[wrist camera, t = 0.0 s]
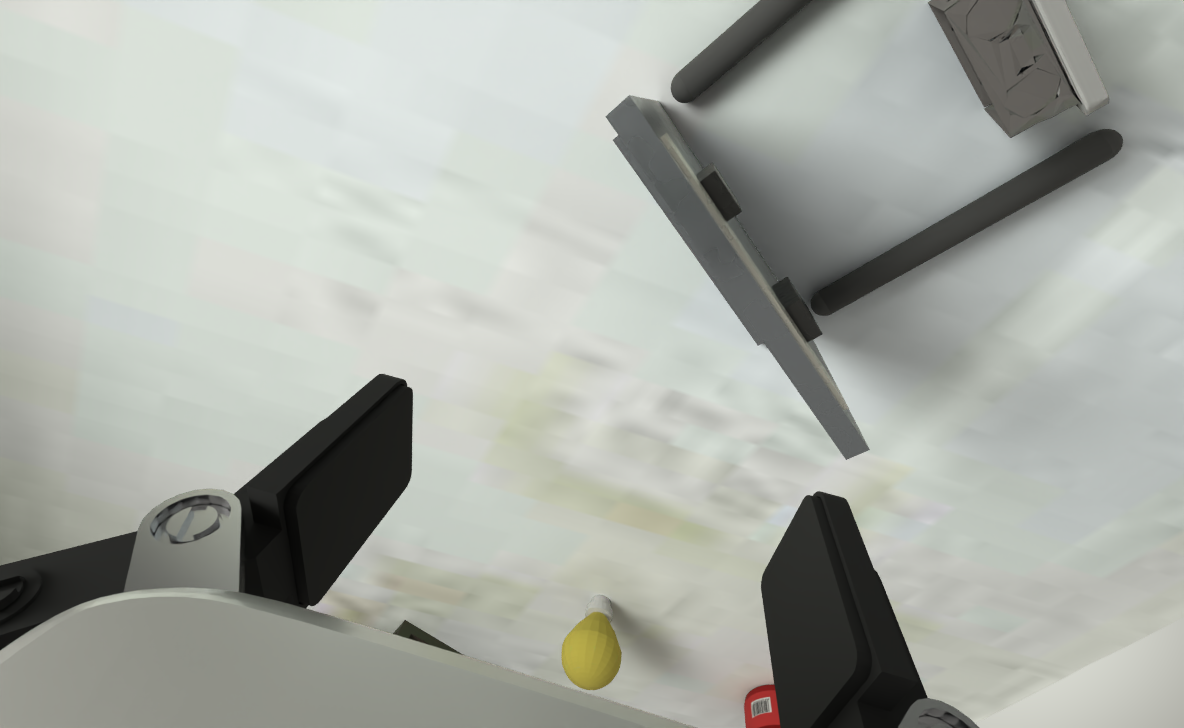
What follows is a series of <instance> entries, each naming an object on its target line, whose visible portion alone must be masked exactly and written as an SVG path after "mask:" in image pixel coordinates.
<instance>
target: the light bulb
mask: <svg viewBox="0 0 1184 728" xmlns="http://www.w3.org/2000/svg"><path fill="white" fill-rule="evenodd" d="M610 605H611V602H610V600H609V599H608V598H607V597H605V596H601V595H597V596H594V597H593V598H592V602H590V603H589V604H588V605H587V608H586V613H585V616H586V618H585V619H583V620H582V621H581V622H579V623H578V624H577V625H576V626H575V627H574V628H573V630H572V631H571V632H570V633H569V634H568V635H567V637H566V638H565V640H564V642H563V645H562V665H563V668H564V670H565V672H566V674H567V676H568V678H569V679H570V680H571V681H572V682H573V683H574V684H575V685H577V686H578V687H580V688H583V689H586V690H596V689H600V688H603V687H604V686H606V685H608V684H609V683H610V682H611V681H612V680H613V679H614V677H615V676H616V674H617V673H618V670H619V668H620V664H621V650H620V647H619V644H618V641H617V638H616V635H615V632H614V630H613V628H612V626H611V624H610V622H611V621H612V615H613V610H612V608H611V607H610Z"/></svg>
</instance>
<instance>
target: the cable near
mask: <svg viewBox="0 0 1184 728" xmlns="http://www.w3.org/2000/svg"><path fill="white" fill-rule="evenodd" d="M811 1H812V0H760V1H759V2H758V3H757V4H756V5H754V6H753V7H752V8H751V9H750V10H749V11H748V12H746V13H745V14H744V15H743V16H742V17H741V18H740V19H739V20H737V21H736V22H735V23H734V24H733V25H732V26H731V27H729V28H728V29H727V30H726V31H725V32H724V33H723V34H721V35H720V36H719V37H718V38H717V39H716V40H715V41H714V42H712V43H711V44H710V45H709V46H708V47H707V48H706V49H704V50H703V51H702V52H701V53H700V54H699V55H698V56H697V57H695V58H694V59H693V60H692V61H691V62H690V63H689V64H687V65H686V66H685V67H684V68H683V69H682V70H681V71H679V72H678V73H677V74H676V75H675V77H674V78H673V80H672V84H671V92H672V95H673V97H674V98H675V99H676V100H677V101H678V102H681V103H688V102H691V101H693V100H694V99H695V98H696V97H698V96H699V95H700V94H701V93H702V92H704V91H705V90H706V89H707V88H708V87H709V86H711V85H712V84H713V83H714V82H715V81H717V80H718V79H719V78H720V77H721V76H723V75H724V74H725V73H726V72H727V71H729V70H730V69H731V68H732V67H733V66H734V65H736V64H737V63H738V62H739V61H740V60H742V59H743V58H744V57H745V56H746V55H748V54H749V53H750V52H751V51H752V50H754V49H755V48H756V47H757V46H758V45H759V44H761V43H762V42H763V41H764V40H765V39H767V38H768V37H769V36H770V35H771V34H773V33H774V32H775V31H776V30H777V29H778V28H780V27H781V26H782V25H783V24H784V23H786V22H787V21H788V20H789V19H790V18H792V17H793V16H794V15H795V14H796V13H798V12H799V11H800V10H801V9H802V8H803V7H805V6H806V5H807V4H808V3H809V2H811Z"/></svg>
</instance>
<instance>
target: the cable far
mask: <svg viewBox="0 0 1184 728" xmlns="http://www.w3.org/2000/svg"><path fill="white" fill-rule="evenodd" d="M1122 144H1123V139H1122V136H1121V135H1120V134H1119V133H1118V132H1117V131H1114V130H1110V129H1103V130H1098V131H1095V132H1093V133H1091V134H1089V135H1087V136H1085V137H1084V138H1082V139H1080V140H1079V141H1077V142H1075V143H1073V144H1072V145H1070V146H1068V147H1067V148H1065V149H1063V150H1061V151H1060V152H1058V153H1056V154H1054V155H1053V156H1051V157H1049V158H1048V159H1046V160H1044V161H1042V162H1041V163H1039V164H1037V165H1036V166H1034V167H1032V168H1030V169H1029V170H1027V171H1025V172H1023V173H1022V174H1020V175H1018V176H1017V177H1015V178H1013V179H1011V180H1010V181H1008V182H1006V183H1004V184H1003V185H1001V186H999V187H998V188H996V189H994V190H992V191H991V192H989V193H987V194H986V195H984V196H982V197H980V198H979V199H977V200H975V201H973V202H972V203H970V204H968V205H967V206H965V207H963V208H961V209H960V210H958V211H956V212H955V213H953V214H951V215H949V216H948V217H946V218H944V219H942V220H941V221H939V222H937V223H936V224H934V225H932V226H930V227H929V228H927V229H925V230H924V231H922V232H920V233H918V234H917V235H915V236H913V237H911V238H910V239H908V240H906V241H905V242H903V243H901V244H899V245H898V246H896V247H894V248H893V249H891V250H889V251H887V252H886V253H884V254H882V255H880V256H879V257H877V258H875V259H874V260H872V261H870V262H868V263H867V264H865V265H863V266H862V267H860V268H858V269H856V270H855V271H853V272H851V273H849V274H848V275H846V276H844V277H843V278H841V279H839V280H837V281H836V282H834V283H832V284H831V285H829V286H827V287H825V288H824V289H822V290H820V291H818V292H817V293H815V294H814V296H813V297H812V299H811V308H812V310H813V311H814V312H815V313H816V314H818V315H822V316H826V315H830V314H832V313H834V312H836V311H838V310H839V309H841V308H843V307H845V306H847V305H848V304H850V303H852V302H854V301H856V300H857V299H859V298H861V297H863V296H865V295H866V294H868V293H870V292H872V291H874V290H875V289H877V288H879V287H881V286H883V285H884V284H886V283H888V282H890V281H892V280H893V279H895V278H897V277H899V276H901V275H902V274H904V273H906V272H908V271H910V270H911V269H913V268H915V267H917V266H919V265H920V264H922V263H924V262H926V261H928V260H929V259H931V258H933V257H935V256H937V255H938V254H940V253H942V252H944V251H946V250H948V249H949V248H951V247H953V246H955V245H957V244H958V243H960V242H962V241H964V240H966V239H967V238H969V237H971V236H973V235H975V234H976V233H978V232H980V231H982V230H984V229H985V228H987V227H989V226H991V225H993V224H994V223H996V222H998V221H1000V220H1002V219H1003V218H1005V217H1007V216H1009V215H1011V214H1012V213H1014V212H1016V211H1018V210H1020V209H1021V208H1023V207H1025V206H1027V205H1029V204H1030V203H1032V202H1034V201H1036V200H1038V199H1039V198H1041V197H1043V196H1045V195H1047V194H1048V193H1050V192H1052V191H1054V190H1056V189H1057V188H1059V187H1061V186H1063V185H1065V184H1067V183H1068V182H1070V181H1072V180H1074V179H1076V178H1077V177H1079V176H1081V175H1083V174H1085V173H1086V172H1088V171H1090V170H1092V169H1094V168H1095V167H1097V166H1099V165H1101V164H1103V163H1104V162H1106V161H1108V160H1110V159H1111V158H1113V157H1114V156H1115V155H1116V154H1117V153H1118V152H1119V151H1120V150H1121V147H1122Z"/></svg>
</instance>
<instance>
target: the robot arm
mask: <svg viewBox="0 0 1184 728" xmlns="http://www.w3.org/2000/svg"><path fill="white" fill-rule="evenodd" d="M412 414H413V391H412V389H411V388H410V387H407V383H406V381H405V380H404V379H400V378H396V377H392V376H389V375H385V374H379V375H377V376H376V377H375V378H374V379H373V380H371V381H370V382H369V383H368V384H367V385H365V386H364V387H363V388H362V389H361V390H359V391H358V392H357V393H356V394H355V395H354V396H352V397H351V398H350V399H349V400H348V401H346V402H345V403H344V404H343V405H342V406H340V407H339V408H338V409H337V410H336V411H335V412H333V413H332V414H331V415H330V416H329V417H327V418H326V419H324V420H322V421H321V422H319V423H318V424H317V425H316V426H315V427H313V428H312V429H311V430H310V431H309V432H307V433H306V434H305V435H304V436H303V437H301V438H300V439H299V440H298V441H297V442H296V443H294V444H293V445H292V446H291V447H290V448H288V449H287V450H286V451H285V452H284V453H282V454H281V455H280V456H279V457H278V458H276V459H275V460H274V461H273V462H272V463H270V464H269V465H268V466H267V467H266V468H264V469H263V470H262V471H261V472H260V473H259V474H257V475H256V476H255V477H254V478H253V479H251V480H250V481H249V482H248V483H247V484H245V485H244V486H243V487H242V488H241V489H239V490H238V491H237V492H236V493H235V494H232V493H230V492H227V491H224V490H218V489H202V490H194V491H190V492H186V493H183V494H179V495H177V496H175V497H173V498H170V499H168V500H166V501H164V502H163V503H161V504H159V505H158V506H156V507H155V508H153V509H152V510H151V511H150V512H149V513H148V514H147V515H146V516H145V517H144V518H143V520H142V522H141V524H140V526H139V528H138V531H136V532H132V533H128V534H124V535H120V536H116V537H113V538H109V539H105V540H101V541H97V542H93V543H89V544H85V545H81V546H77V547H73V548H69V549H65V550H61V551H57V552H53V553H49V554H45V555H41V556H37V557H33V558H29V559H25V560H21V561H17V562H13V563H9V564H5V565H1V566H0V728H696V727H693V726H690V725H686V724H683V723H680V722H677V721H674V720H671V719H667V718H664V717H661V716H658V715H655V714H651V713H648V712H645V711H642V710H639V709H636V708H632V707H629V706H626V705H623V704H620V703H616V702H613V701H610V700H607V699H604V698H600V697H597V696H594V695H591V694H587V693H584V692H581V691H578V690H575V689H571V688H568V687H565V686H562V685H558V684H555V683H552V682H549V681H545V680H542V679H539V678H536V677H532V676H529V675H526V674H523V673H519V672H516V671H513V670H510V669H506V668H503V667H500V666H497V665H493V664H490V663H487V662H484V661H480V660H477V659H474V658H471V657H467V656H464V655H461V654H457V653H454V652H451V651H447V650H444V649H441V648H438V647H434V646H431V645H428V644H424V643H421V642H418V641H414V640H411V639H408V638H404V637H401V636H398V635H394V634H391V633H388V632H385V631H381V630H378V629H375V628H371V627H368V626H365V625H361V624H358V623H355V622H351V621H348V620H344V619H341V618H337V617H334V616H330V615H327V614H323V613H319V612H316V611H312V610H309V609H306V608H307V607H308V605H310V606H315V605H316V604H317V603H319V601H320V600H321V599H322V598H323V596H324V595H325V594H326V593H327V591H328V590H329V589H330V587H331V586H332V585H333V583H334V582H335V581H336V579H337V578H338V577H339V575H340V574H341V573H342V571H343V570H344V569H345V568H346V566H347V565H348V564H349V562H350V561H351V560H352V558H353V557H354V556H355V554H356V553H357V552H358V550H359V549H360V548H361V546H362V545H363V544H364V543H365V541H366V540H367V539H368V537H369V536H370V535H371V533H372V532H373V531H374V529H375V528H376V527H377V525H378V524H379V523H380V521H381V520H382V519H383V518H384V516H385V515H386V514H387V512H388V511H389V510H390V508H391V507H392V506H393V504H394V503H395V502H396V500H397V499H398V498H399V496H400V495H401V494H402V493H403V491H404V490H405V489H406V487H407V485H408V483H409V481H410V478H411V473H412ZM761 591H762V598H763V605H764V613H765V620H766V627H767V634H768V641H769V649H770V656H771V663H772V670H773V677H774V685H775V692H776V699H777V706H778V713H779V720H780V728H979V727H978V726H977V725H976V724H975V723H974V722H973V721H972V720H971V719H970V718H968V717H967V716H966V715H964V714H963V713H961V712H960V711H959V710H957V709H956V708H954V707H952V706H950V705H948V704H946V703H944V702H942V701H939V700H934V699H930V698H927V695H926V692H925V690H924V687H923V685H922V682H921V680H920V677H919V675H918V672H917V670H916V667H915V665H914V662H913V660H912V657H911V655H910V652H909V650H908V647H907V644H906V642H905V639H904V637H903V634H902V632H901V629H900V627H899V624H898V622H897V619H896V617H895V614H894V612H893V609H892V607H891V604H890V602H889V599H888V596H887V594H886V591H885V589H884V586H883V584H882V581H881V579H880V577H879V575H878V573H877V572H876V571H875V570H874V568H873V565H872V563H871V560H870V558H869V555H868V553H867V550H866V547H865V545H864V542H863V540H862V537H861V535H860V532H859V529H858V527H857V524H856V522H855V519H854V517H853V514H852V512H851V509H850V506H849V504H848V502H847V500H846V499H845V498H842V497H839V496H835V495H831V494H827V493H824V492H820V491H819V492H816V493H815V494H814V495H813V496H810V495H807V496H806V497H805V498H804V499H803V501H802V503H801V505H800V507H799V508H798V510H797V512H796V514H795V516H794V518H793V519H792V521H791V523H790V525H789V527H788V529H787V531H786V532H785V534H784V536H783V538H782V540H781V542H780V543H779V545H778V547H777V549H776V551H775V553H774V554H773V556H772V558H771V560H770V562H769V564H768V566H767V567H766V569H765V571H764V573H763V576H762V581H761Z"/></svg>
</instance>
